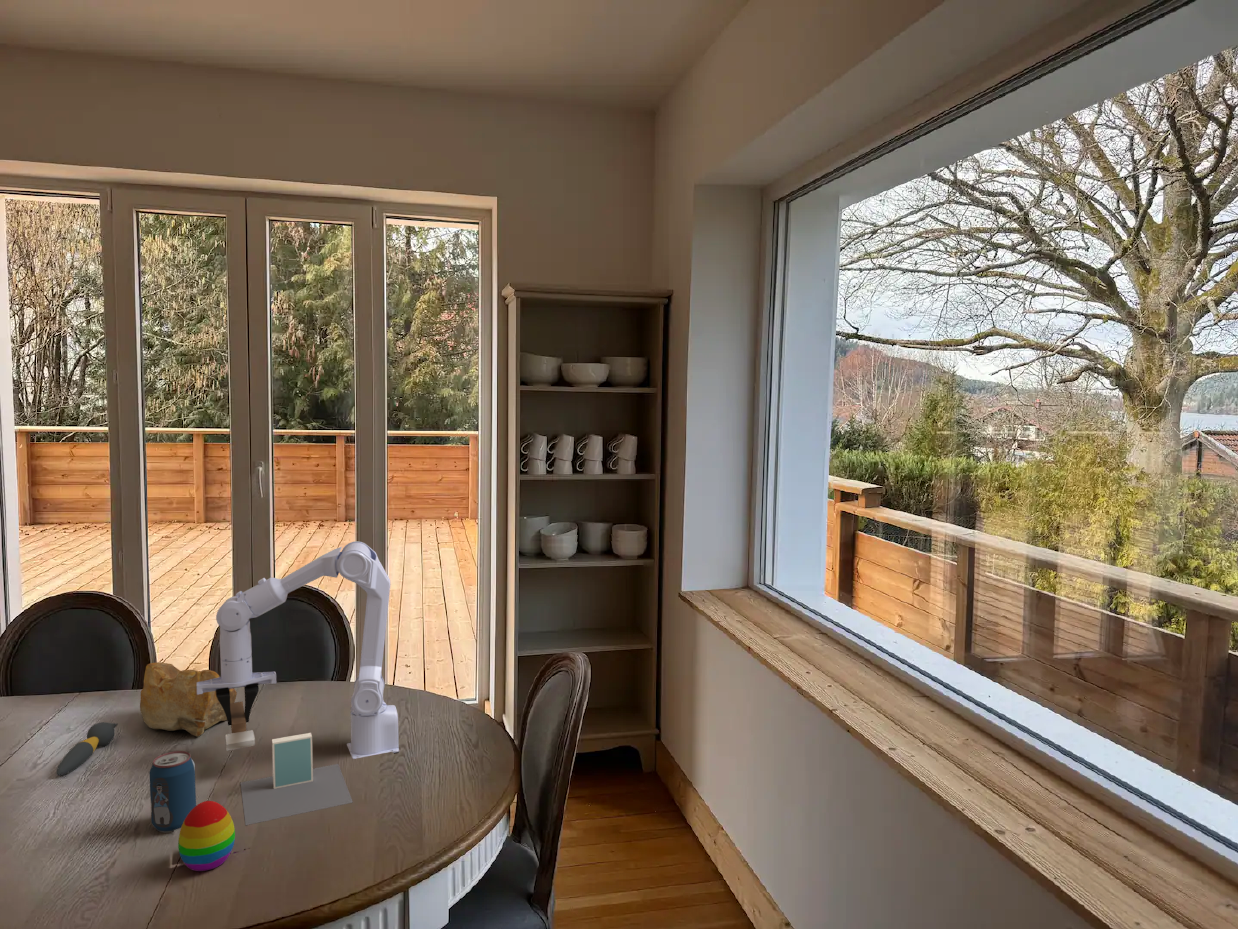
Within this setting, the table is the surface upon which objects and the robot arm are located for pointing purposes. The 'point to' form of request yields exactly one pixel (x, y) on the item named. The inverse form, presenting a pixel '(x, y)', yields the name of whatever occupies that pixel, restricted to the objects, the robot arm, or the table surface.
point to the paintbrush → (87, 747)
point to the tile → (292, 760)
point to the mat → (294, 795)
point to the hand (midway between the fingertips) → (238, 722)
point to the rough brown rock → (179, 699)
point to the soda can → (172, 790)
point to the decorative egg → (206, 836)
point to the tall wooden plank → (239, 729)
